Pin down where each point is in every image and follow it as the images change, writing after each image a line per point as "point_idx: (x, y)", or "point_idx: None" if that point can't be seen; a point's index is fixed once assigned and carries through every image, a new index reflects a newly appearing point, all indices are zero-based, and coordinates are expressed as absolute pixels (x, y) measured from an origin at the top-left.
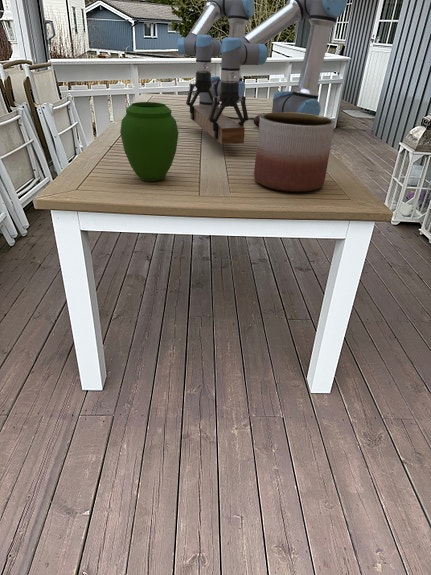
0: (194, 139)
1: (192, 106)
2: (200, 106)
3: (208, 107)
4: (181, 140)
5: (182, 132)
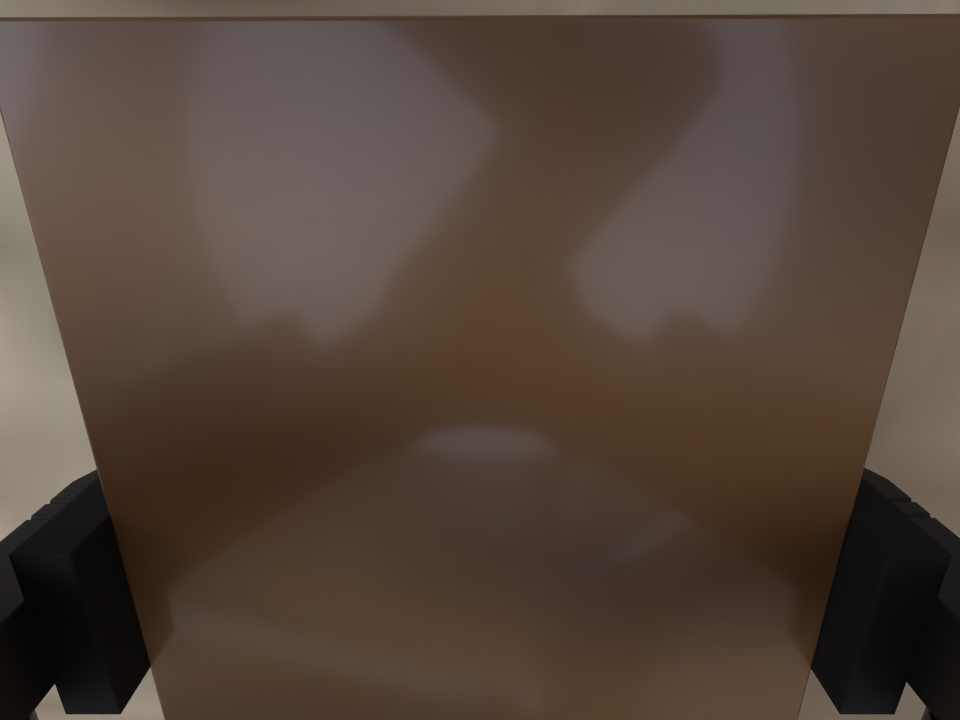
0: None
1: (48, 689)
2: (456, 321)
3: (703, 566)
4: (137, 700)
5: None
